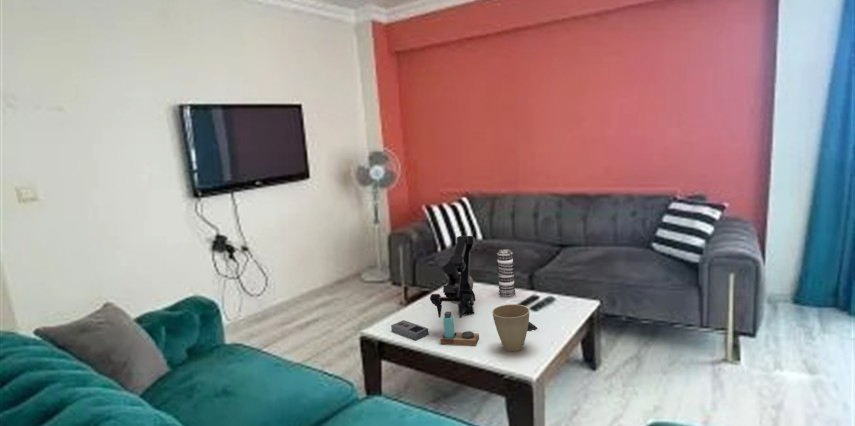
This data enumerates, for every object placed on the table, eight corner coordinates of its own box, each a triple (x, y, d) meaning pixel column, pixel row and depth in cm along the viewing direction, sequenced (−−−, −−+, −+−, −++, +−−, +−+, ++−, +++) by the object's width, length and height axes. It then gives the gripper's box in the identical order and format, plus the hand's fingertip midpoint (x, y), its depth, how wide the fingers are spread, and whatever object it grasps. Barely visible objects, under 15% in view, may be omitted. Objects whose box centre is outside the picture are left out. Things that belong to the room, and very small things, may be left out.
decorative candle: (494, 297, 268) (491, 251, 263) (506, 292, 274) (503, 247, 269) (508, 300, 261) (505, 253, 257) (519, 295, 267) (517, 249, 263)
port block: (404, 326, 240) (403, 319, 240) (428, 334, 228) (428, 328, 227) (391, 331, 235) (391, 324, 235) (416, 340, 223) (415, 333, 222)
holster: (444, 337, 223) (443, 329, 223) (479, 338, 219) (478, 330, 218) (440, 344, 217) (439, 336, 216) (476, 346, 212) (475, 337, 212)
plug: (447, 339, 221) (444, 311, 219) (455, 339, 220) (452, 311, 218) (445, 342, 218) (442, 314, 216) (453, 343, 217) (450, 314, 215)
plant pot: (523, 337, 216) (521, 302, 213) (537, 352, 202) (535, 314, 199) (490, 343, 214) (487, 307, 211) (501, 358, 199) (498, 319, 197)
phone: (521, 331, 221) (506, 319, 235) (522, 333, 221) (507, 321, 235) (538, 327, 223) (522, 316, 237) (538, 330, 223) (522, 318, 238)
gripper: (429, 276, 225) (424, 309, 216) (470, 276, 219) (467, 310, 210) (435, 287, 233) (430, 319, 225) (475, 288, 228) (472, 321, 219)
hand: (449, 317), depth 219 cm, fingers open, 9 cm apart
